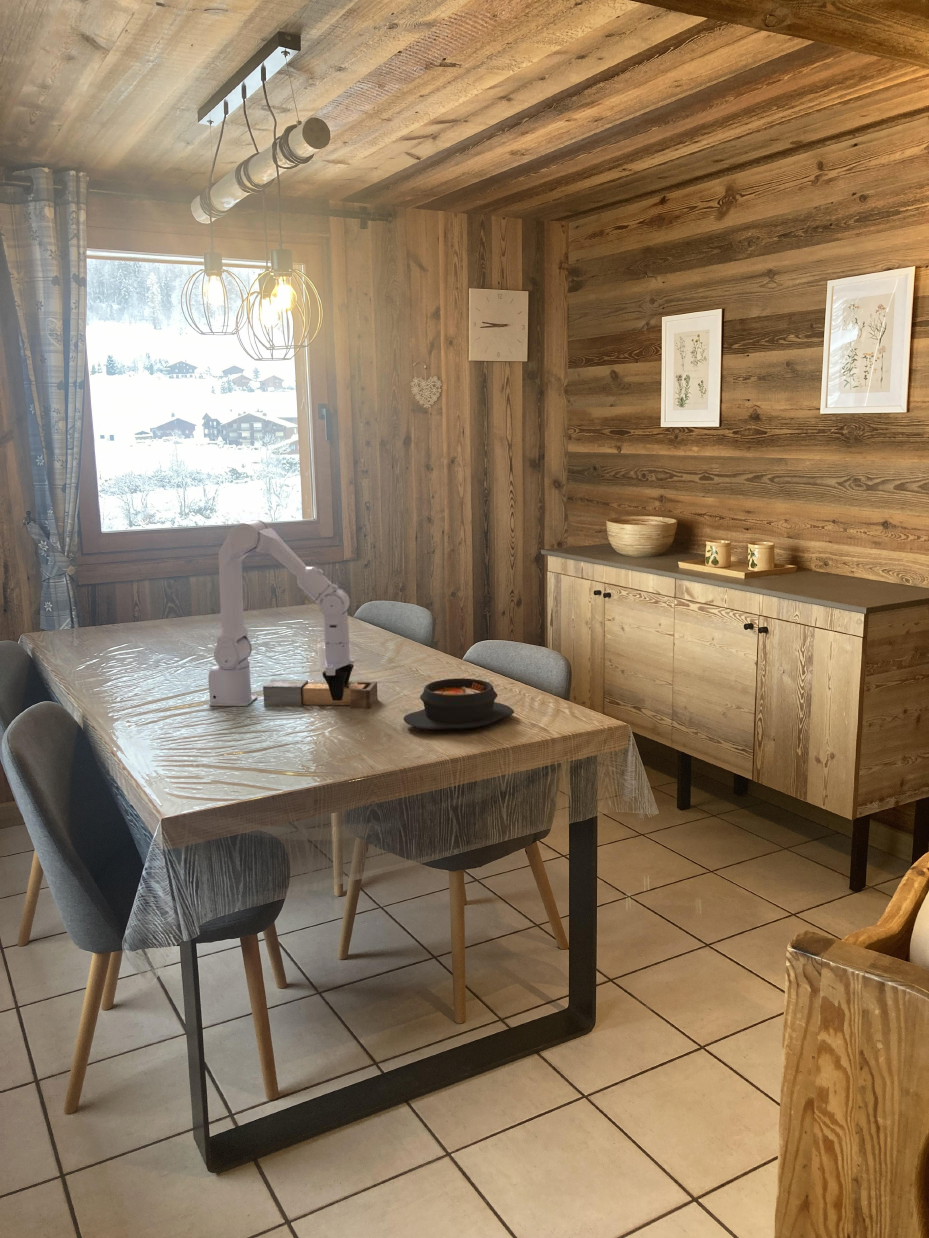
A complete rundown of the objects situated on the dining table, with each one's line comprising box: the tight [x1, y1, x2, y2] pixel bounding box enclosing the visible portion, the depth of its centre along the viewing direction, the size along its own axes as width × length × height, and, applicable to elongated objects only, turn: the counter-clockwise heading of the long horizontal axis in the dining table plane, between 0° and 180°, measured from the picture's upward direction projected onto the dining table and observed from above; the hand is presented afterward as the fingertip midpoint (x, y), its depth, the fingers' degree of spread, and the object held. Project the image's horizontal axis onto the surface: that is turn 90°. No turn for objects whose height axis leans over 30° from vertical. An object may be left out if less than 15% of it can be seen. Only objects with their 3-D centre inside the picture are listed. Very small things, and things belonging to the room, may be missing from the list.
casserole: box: [403, 677, 515, 731], centre depth 214 cm, size 25×19×8 cm
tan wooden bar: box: [301, 683, 366, 706], centre depth 232 cm, size 16×4×4 cm, turn 83°
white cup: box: [316, 641, 327, 684], centre depth 252 cm, size 8×8×10 cm
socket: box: [350, 680, 379, 710], centre depth 231 cm, size 5×8×4 cm, turn 173°
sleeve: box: [262, 679, 309, 708], centre depth 234 cm, size 9×7×5 cm
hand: (339, 697), depth 232 cm, fingers closed on tan wooden bar, 4 cm apart
